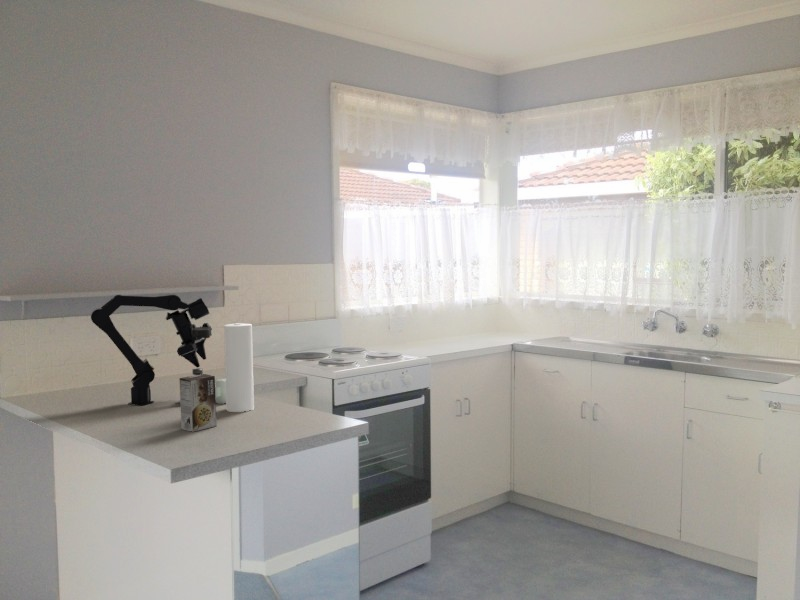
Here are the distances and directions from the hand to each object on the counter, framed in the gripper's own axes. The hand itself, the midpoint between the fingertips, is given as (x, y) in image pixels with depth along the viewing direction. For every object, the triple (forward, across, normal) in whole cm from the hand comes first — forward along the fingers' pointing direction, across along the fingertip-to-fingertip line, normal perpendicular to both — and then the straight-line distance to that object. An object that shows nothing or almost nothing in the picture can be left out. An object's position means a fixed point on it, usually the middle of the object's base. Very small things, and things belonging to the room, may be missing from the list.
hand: (201, 363), depth 272 cm
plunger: (+6, -7, +3) cm, 10 cm away
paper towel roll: (+16, -22, -14) cm, 31 cm away
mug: (+15, -9, -5) cm, 18 cm away
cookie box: (+9, -48, -9) cm, 50 cm away
